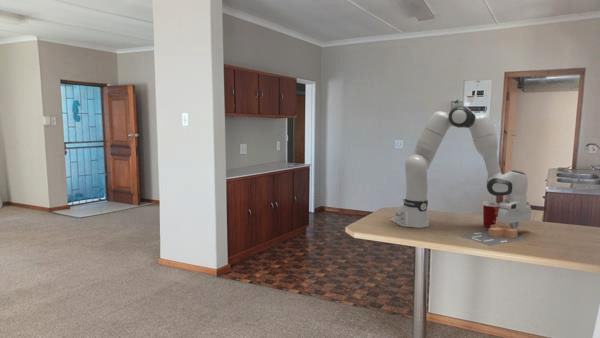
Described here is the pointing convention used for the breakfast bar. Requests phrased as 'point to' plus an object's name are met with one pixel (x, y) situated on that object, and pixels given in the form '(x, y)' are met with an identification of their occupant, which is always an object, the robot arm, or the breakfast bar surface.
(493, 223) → the paper cup
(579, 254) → the breakfast bar surface
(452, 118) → the robot arm
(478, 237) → the board
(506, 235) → the t block
